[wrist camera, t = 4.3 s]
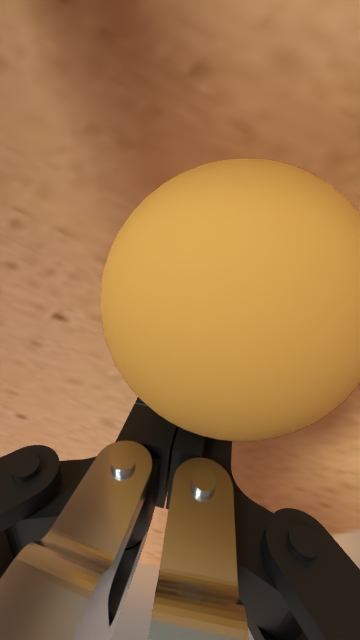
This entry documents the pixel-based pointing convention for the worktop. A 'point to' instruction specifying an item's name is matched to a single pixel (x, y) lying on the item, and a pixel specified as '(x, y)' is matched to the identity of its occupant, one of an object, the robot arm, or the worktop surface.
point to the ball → (237, 299)
